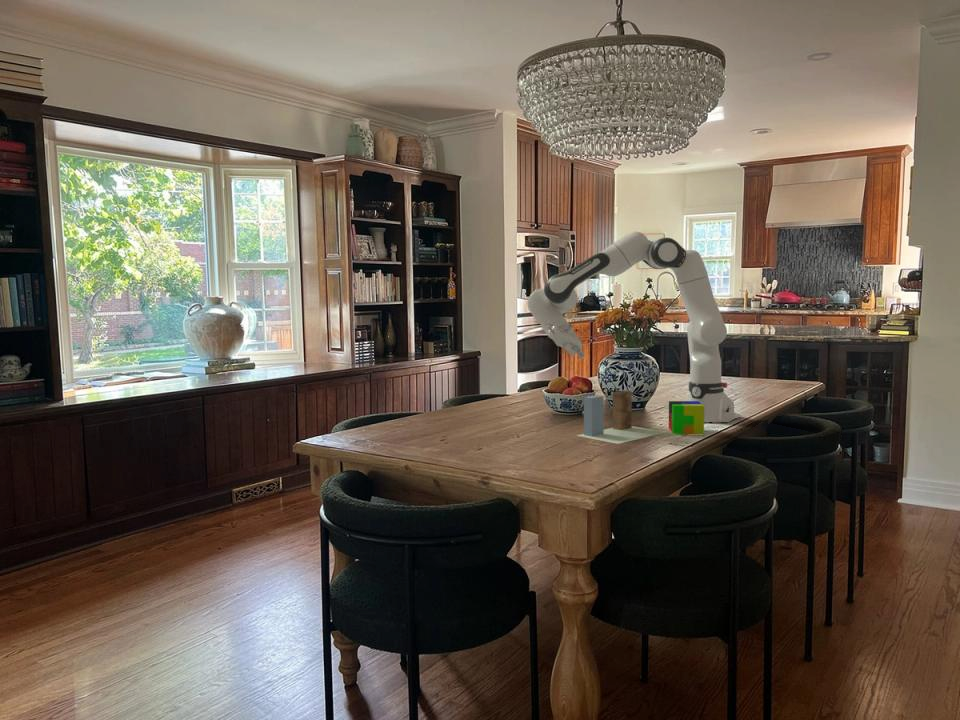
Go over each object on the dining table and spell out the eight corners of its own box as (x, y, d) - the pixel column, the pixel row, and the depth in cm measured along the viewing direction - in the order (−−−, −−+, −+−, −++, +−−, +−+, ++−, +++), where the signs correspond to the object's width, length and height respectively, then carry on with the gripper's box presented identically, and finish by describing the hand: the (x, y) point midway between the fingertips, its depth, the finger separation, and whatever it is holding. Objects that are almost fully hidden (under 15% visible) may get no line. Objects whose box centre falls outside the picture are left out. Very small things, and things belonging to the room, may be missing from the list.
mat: (625, 426, 255) (625, 425, 255) (667, 433, 241) (667, 432, 241) (576, 436, 239) (576, 435, 239) (618, 445, 225) (618, 443, 225)
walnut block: (623, 426, 253) (623, 390, 251) (631, 427, 250) (631, 391, 249) (612, 428, 249) (612, 392, 247) (620, 430, 246) (620, 393, 245)
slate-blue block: (595, 432, 243) (595, 395, 242) (603, 433, 240) (603, 396, 239) (583, 434, 239) (583, 397, 238) (591, 436, 237) (591, 398, 235)
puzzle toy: (697, 429, 248) (698, 401, 247) (703, 435, 238) (704, 405, 237) (668, 429, 249) (668, 401, 248) (673, 435, 239) (673, 405, 238)
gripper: (552, 317, 250) (574, 346, 245) (572, 325, 268) (594, 353, 263) (539, 329, 252) (561, 358, 247) (560, 336, 270) (581, 364, 265)
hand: (578, 356), depth 255 cm, fingers open, 8 cm apart
